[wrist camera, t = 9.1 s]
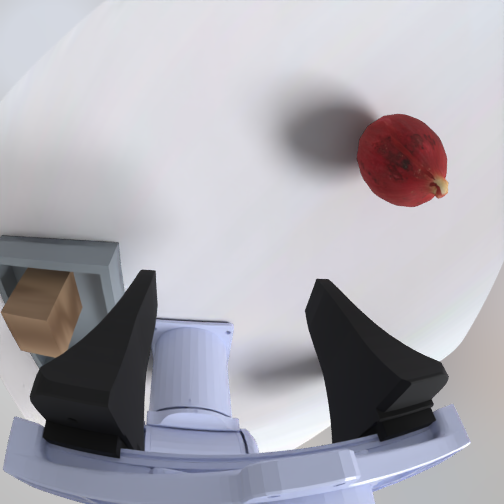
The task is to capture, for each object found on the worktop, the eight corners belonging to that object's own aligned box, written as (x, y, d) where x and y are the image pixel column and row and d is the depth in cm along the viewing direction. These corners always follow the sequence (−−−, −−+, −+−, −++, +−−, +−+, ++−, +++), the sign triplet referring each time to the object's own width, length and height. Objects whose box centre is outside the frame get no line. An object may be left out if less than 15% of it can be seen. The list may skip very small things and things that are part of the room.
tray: (138, 363, 30) (135, 385, 28) (46, 350, 28) (39, 369, 26) (118, 242, 22) (108, 266, 19) (2, 235, 19) (-15, 254, 17)
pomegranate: (325, 158, 20) (378, 209, 13) (364, 90, 17) (438, 111, 11) (382, 191, 22) (440, 248, 15) (418, 132, 19) (490, 171, 13)
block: (82, 307, 24) (64, 359, 19) (42, 301, 23) (20, 350, 18) (72, 267, 21) (46, 320, 16) (30, 263, 21) (0, 312, 16)
